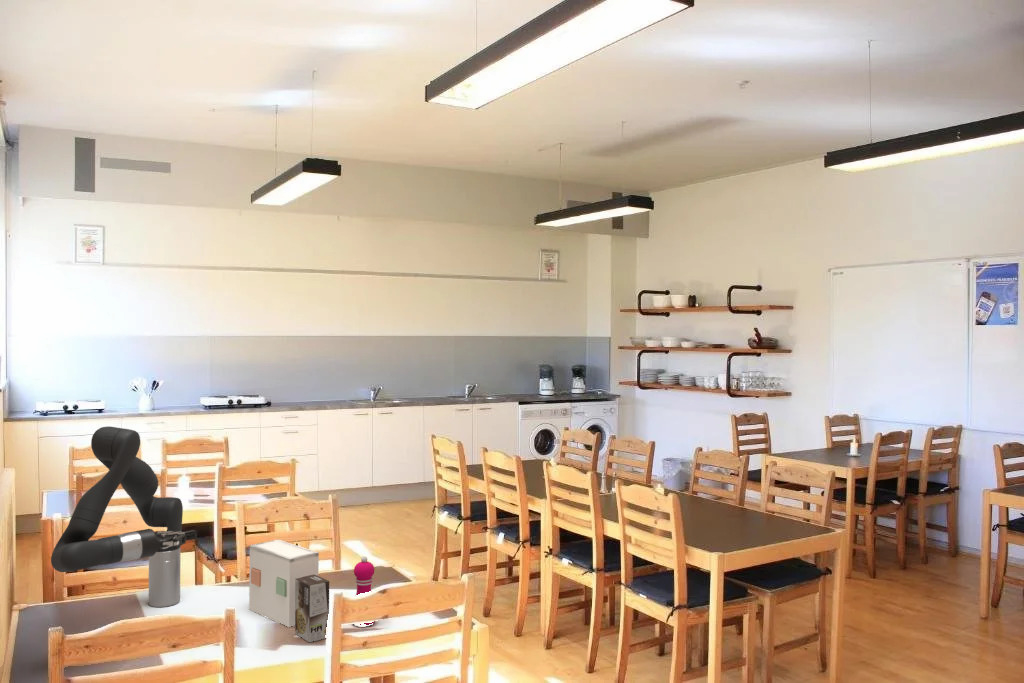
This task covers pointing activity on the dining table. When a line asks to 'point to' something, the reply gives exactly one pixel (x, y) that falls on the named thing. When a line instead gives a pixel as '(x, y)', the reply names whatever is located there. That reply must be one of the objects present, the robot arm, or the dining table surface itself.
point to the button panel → (283, 564)
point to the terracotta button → (256, 577)
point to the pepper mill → (364, 577)
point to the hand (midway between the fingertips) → (195, 534)
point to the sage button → (281, 587)
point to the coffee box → (311, 607)
